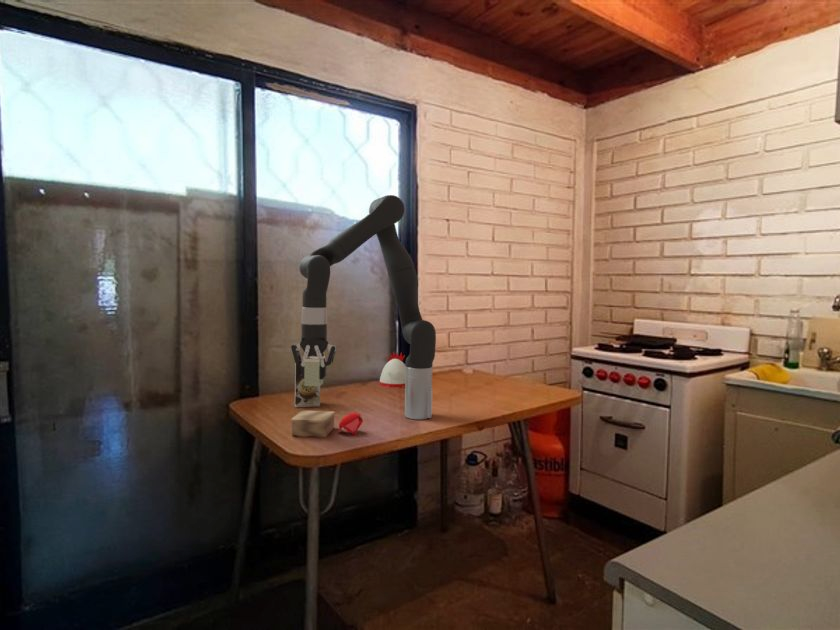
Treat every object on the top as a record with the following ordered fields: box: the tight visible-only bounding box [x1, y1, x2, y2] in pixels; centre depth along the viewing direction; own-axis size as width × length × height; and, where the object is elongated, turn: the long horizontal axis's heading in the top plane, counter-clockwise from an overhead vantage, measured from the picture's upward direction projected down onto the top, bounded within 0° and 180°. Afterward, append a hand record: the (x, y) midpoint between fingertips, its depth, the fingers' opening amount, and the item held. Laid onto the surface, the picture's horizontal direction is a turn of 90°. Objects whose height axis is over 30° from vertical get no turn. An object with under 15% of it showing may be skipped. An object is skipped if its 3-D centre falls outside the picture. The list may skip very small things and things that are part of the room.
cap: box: [338, 412, 364, 436], centre depth 150 cm, size 8×6×6 cm
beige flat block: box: [290, 410, 336, 438], centre depth 150 cm, size 11×11×5 cm
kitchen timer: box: [379, 351, 406, 388], centre depth 223 cm, size 14×14×15 cm
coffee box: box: [294, 362, 321, 408], centre depth 183 cm, size 9×6×16 cm
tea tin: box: [304, 356, 324, 387], centre depth 149 cm, size 5×5×8 cm
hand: (313, 378), depth 149 cm, fingers closed on tea tin, 4 cm apart
